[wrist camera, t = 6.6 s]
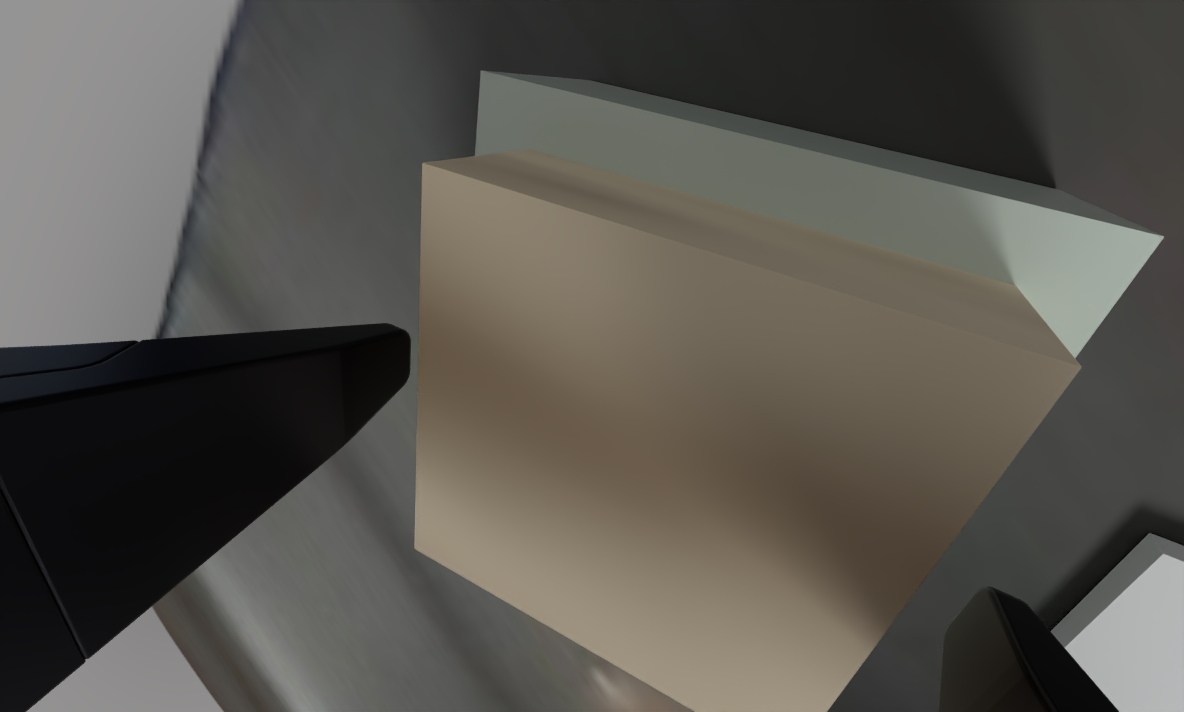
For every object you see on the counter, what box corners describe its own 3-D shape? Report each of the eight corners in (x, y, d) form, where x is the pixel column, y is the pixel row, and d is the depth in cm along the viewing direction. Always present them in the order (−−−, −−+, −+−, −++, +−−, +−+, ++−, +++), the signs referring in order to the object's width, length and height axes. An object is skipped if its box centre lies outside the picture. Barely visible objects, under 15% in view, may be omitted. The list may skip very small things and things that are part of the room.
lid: (804, 629, 10) (787, 765, 8) (491, 473, 12) (414, 548, 10) (1015, 285, 7) (1081, 366, 5) (528, 149, 9) (422, 163, 7)
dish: (841, 547, 14) (832, 688, 10) (536, 409, 16) (451, 486, 13) (1058, 189, 9) (1163, 236, 6) (589, 80, 12) (480, 70, 8)
